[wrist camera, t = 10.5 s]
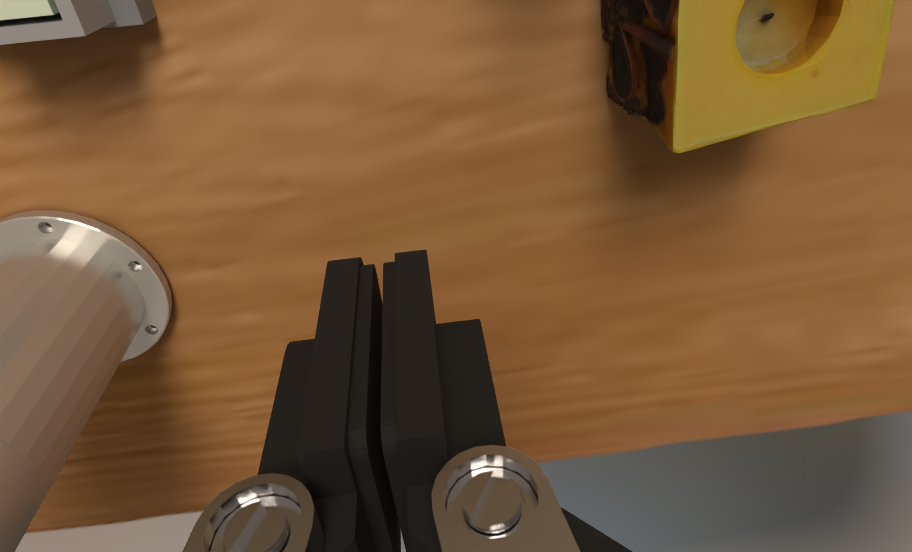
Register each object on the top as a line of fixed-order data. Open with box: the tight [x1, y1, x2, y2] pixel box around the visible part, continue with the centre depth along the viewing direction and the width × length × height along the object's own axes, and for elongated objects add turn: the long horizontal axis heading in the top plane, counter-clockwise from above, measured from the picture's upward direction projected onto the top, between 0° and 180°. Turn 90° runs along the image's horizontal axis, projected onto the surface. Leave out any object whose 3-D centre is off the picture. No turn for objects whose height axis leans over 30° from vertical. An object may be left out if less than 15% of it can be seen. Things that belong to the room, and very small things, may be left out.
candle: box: [601, 0, 895, 153], centre depth 29 cm, size 10×10×10 cm
